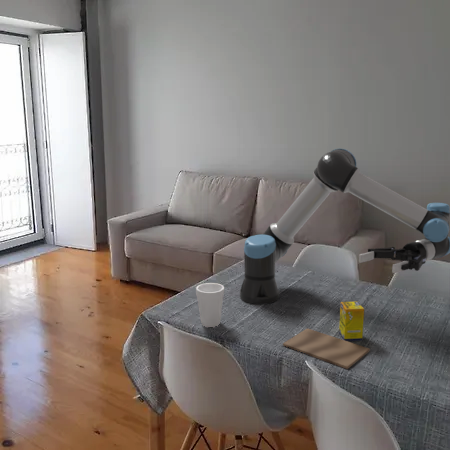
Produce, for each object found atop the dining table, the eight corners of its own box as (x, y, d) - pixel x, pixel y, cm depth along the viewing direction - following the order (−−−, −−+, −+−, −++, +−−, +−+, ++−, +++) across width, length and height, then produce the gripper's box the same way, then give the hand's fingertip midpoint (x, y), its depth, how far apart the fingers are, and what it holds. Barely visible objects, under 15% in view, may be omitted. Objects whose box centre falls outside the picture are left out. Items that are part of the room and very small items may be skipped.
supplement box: (338, 333, 165) (340, 301, 163) (356, 332, 166) (358, 301, 163) (344, 341, 160) (345, 309, 157) (362, 340, 160) (364, 308, 158)
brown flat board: (282, 345, 157) (282, 343, 157) (307, 330, 167) (307, 328, 167) (347, 369, 143) (347, 366, 143) (369, 351, 153) (369, 348, 153)
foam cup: (228, 320, 176) (228, 284, 173) (219, 331, 168) (218, 294, 164) (202, 316, 179) (202, 281, 176) (192, 327, 171) (191, 291, 168)
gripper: (450, 271, 165) (408, 285, 154) (387, 254, 185) (346, 265, 174) (451, 249, 163) (409, 261, 152) (388, 234, 184) (347, 244, 172)
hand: (375, 263), depth 163 cm, fingers open, 13 cm apart
